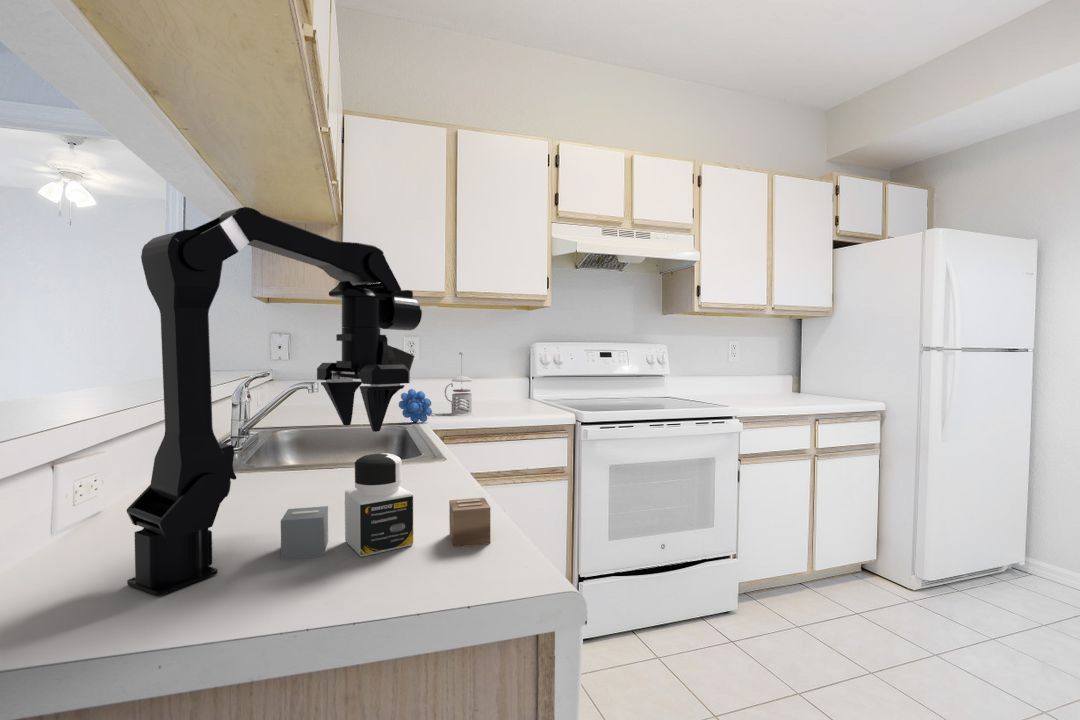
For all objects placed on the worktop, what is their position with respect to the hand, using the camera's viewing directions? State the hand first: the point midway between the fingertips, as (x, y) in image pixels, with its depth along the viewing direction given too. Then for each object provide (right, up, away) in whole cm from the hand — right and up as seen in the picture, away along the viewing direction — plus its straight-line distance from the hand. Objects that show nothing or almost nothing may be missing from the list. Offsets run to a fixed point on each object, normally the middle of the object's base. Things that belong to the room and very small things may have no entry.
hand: (361, 428), depth 82 cm
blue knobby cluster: (-16, -12, +103) cm, 105 cm away
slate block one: (-3, -15, -13) cm, 20 cm away
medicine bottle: (+6, -15, -11) cm, 19 cm away
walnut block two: (+18, -14, -9) cm, 25 cm away
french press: (-4, -11, +127) cm, 128 cm away
